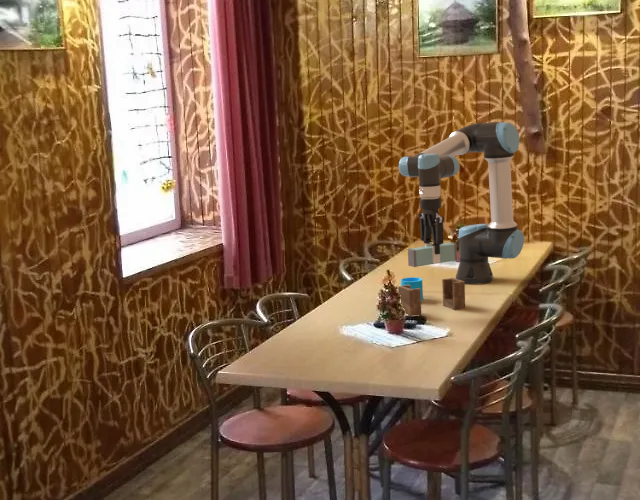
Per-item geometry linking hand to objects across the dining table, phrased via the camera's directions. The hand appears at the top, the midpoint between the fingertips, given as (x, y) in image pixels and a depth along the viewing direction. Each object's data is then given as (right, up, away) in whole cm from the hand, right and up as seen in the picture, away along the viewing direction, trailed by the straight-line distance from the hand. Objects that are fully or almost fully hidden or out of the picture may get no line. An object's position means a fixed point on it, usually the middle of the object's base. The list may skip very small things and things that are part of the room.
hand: (432, 261), depth 337 cm
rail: (0, 0, 0) cm, 0 cm away
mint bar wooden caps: (0, -18, +4) cm, 18 cm away
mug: (-4, -15, +23) cm, 28 cm away
